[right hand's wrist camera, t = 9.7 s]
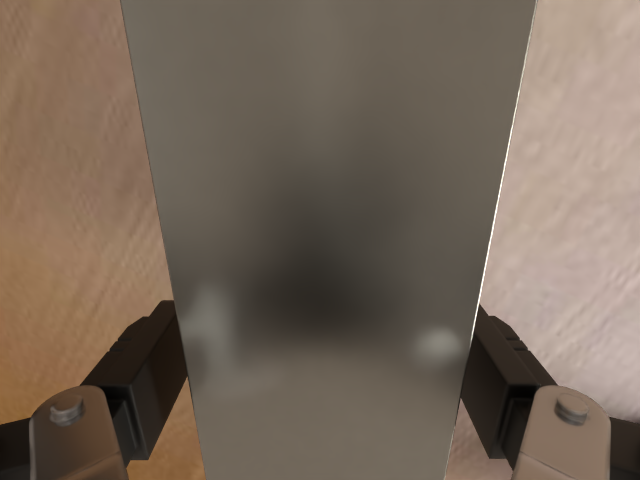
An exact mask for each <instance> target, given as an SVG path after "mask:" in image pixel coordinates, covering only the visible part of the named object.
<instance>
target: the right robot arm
mask: <svg viewBox="0 0 640 480" xmlns="http://www.w3.org/2000/svg"><path fill="white" fill-rule="evenodd" d="M187 376H188V375H187V370H186V364H185V359H184V353H183V347H182V342H181V336H180V331H179V325H178V320H177V314H176V309H175V303H174V300H163V301H161V302H160V303H159V304H158V305H157V307H156V308H155V309H154V311H153V312H152V313H151V315H150V316H149V317H142V318H140V319H139V320H137V321H136V322H134V323H133V324H131V325H130V326H128V327H127V328H126V330H125V331H124V332H123V333H122V335H121V336H120V337H119V338H118V341H116V342H115V343H114V344H113V345H112V347H111V348H110V351H109V352H107V353H106V354H105V355H104V356H103V358H102V359H101V360H100V361H99V363H98V364H97V365H96V366H95V367H94V369H93V370H92V371H91V372H90V374H89V375H88V376H87V377H86V378H85V380H84V381H83V382H82V383H81V384H80V386H77V387H73V388H70V389H67V390H64V391H62V392H60V393H58V394H56V395H54V396H52V397H51V398H49V399H48V400H46V401H45V402H44V403H43V404H41V405H40V406H39V407H38V408H37V410H36V411H35V412H34V413H33V415H32V417H30V418H27V419H23V420H18V421H14V422H10V423H6V424H2V425H0V480H129V477H128V474H127V470H126V468H127V466H128V464H129V462H130V460H148V459H149V457H150V455H151V453H152V450H153V448H154V446H155V444H156V442H157V440H158V438H159V436H160V433H161V431H162V429H163V427H164V425H165V423H166V421H167V418H168V416H169V414H170V412H171V410H172V408H173V406H174V403H175V401H176V399H177V397H178V395H179V393H180V391H181V389H182V386H183V384H184V382H185V380H186V378H187ZM461 399H462V401H463V403H464V405H465V407H466V409H467V412H468V414H469V416H470V418H471V420H472V422H473V425H474V427H475V429H476V431H477V433H478V435H479V438H480V440H481V442H482V444H483V446H484V448H485V451H486V453H487V455H488V457H489V459H507V460H508V462H509V464H510V466H511V468H512V470H513V474H512V477H511V480H640V424H637V423H633V422H628V421H624V420H620V419H616V418H611V417H608V415H607V413H606V412H605V411H604V410H603V408H602V407H601V406H600V405H599V404H597V403H596V402H595V401H594V400H592V399H591V398H589V397H588V396H586V395H584V394H582V393H580V392H578V391H576V390H573V389H570V388H567V387H563V386H558V385H557V383H556V382H555V381H554V380H553V379H552V377H551V376H550V375H549V374H548V372H547V371H546V370H545V369H544V367H543V366H542V365H541V364H540V363H539V361H538V360H537V359H536V358H535V356H534V355H533V354H532V353H531V351H528V348H527V347H526V345H525V344H524V343H523V342H522V340H520V338H519V337H518V335H517V334H516V333H515V332H514V331H513V329H512V328H511V327H510V326H509V325H507V324H506V323H504V322H503V321H502V320H500V319H499V318H497V317H496V316H488V314H487V313H486V312H485V310H484V309H483V308H482V306H481V305H480V304H479V306H478V311H477V316H476V321H475V326H474V331H473V336H472V342H471V347H470V352H469V357H468V362H467V367H466V372H465V378H464V383H463V388H462V393H461Z"/></svg>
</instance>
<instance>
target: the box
mask: <svg viewBox="0 0 640 480" xmlns="http://www.w3.org/2000/svg"><path fill="white" fill-rule="evenodd" d="M537 2H538V0H120V3H121V9H122V14H123V20H124V25H125V31H126V36H127V42H128V47H129V53H130V59H131V64H132V70H133V75H134V81H135V86H136V92H137V97H138V103H139V109H140V114H141V120H142V125H143V131H144V136H145V142H146V147H147V153H148V159H149V164H150V170H151V175H152V181H153V186H154V192H155V197H156V203H157V209H158V214H159V220H160V225H161V231H162V236H163V242H164V247H165V253H166V259H167V264H168V270H169V275H170V281H171V286H172V292H173V297H174V303H175V309H176V314H177V320H178V325H179V331H180V336H181V342H182V347H183V353H184V359H185V364H186V370H187V375H188V381H189V386H190V392H191V397H192V403H193V409H194V414H195V420H196V425H197V431H198V436H199V442H200V447H201V453H202V459H203V464H204V470H205V475H206V480H445V475H446V470H447V465H448V460H449V455H450V450H451V444H452V439H453V434H454V429H455V424H456V419H457V414H458V408H459V403H460V398H461V393H462V388H463V383H464V378H465V372H466V367H467V362H468V357H469V352H470V347H471V342H472V336H473V331H474V326H475V321H476V316H477V311H478V306H479V300H480V295H481V290H482V285H483V280H484V275H485V270H486V264H487V259H488V254H489V249H490V244H491V239H492V234H493V228H494V223H495V218H496V213H497V208H498V203H499V198H500V192H501V187H502V182H503V177H504V172H505V167H506V162H507V156H508V151H509V146H510V141H511V136H512V131H513V126H514V120H515V115H516V110H517V105H518V100H519V95H520V90H521V84H522V79H523V74H524V69H525V64H526V59H527V54H528V48H529V43H530V38H531V33H532V28H533V23H534V18H535V12H536V7H537Z"/></svg>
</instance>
